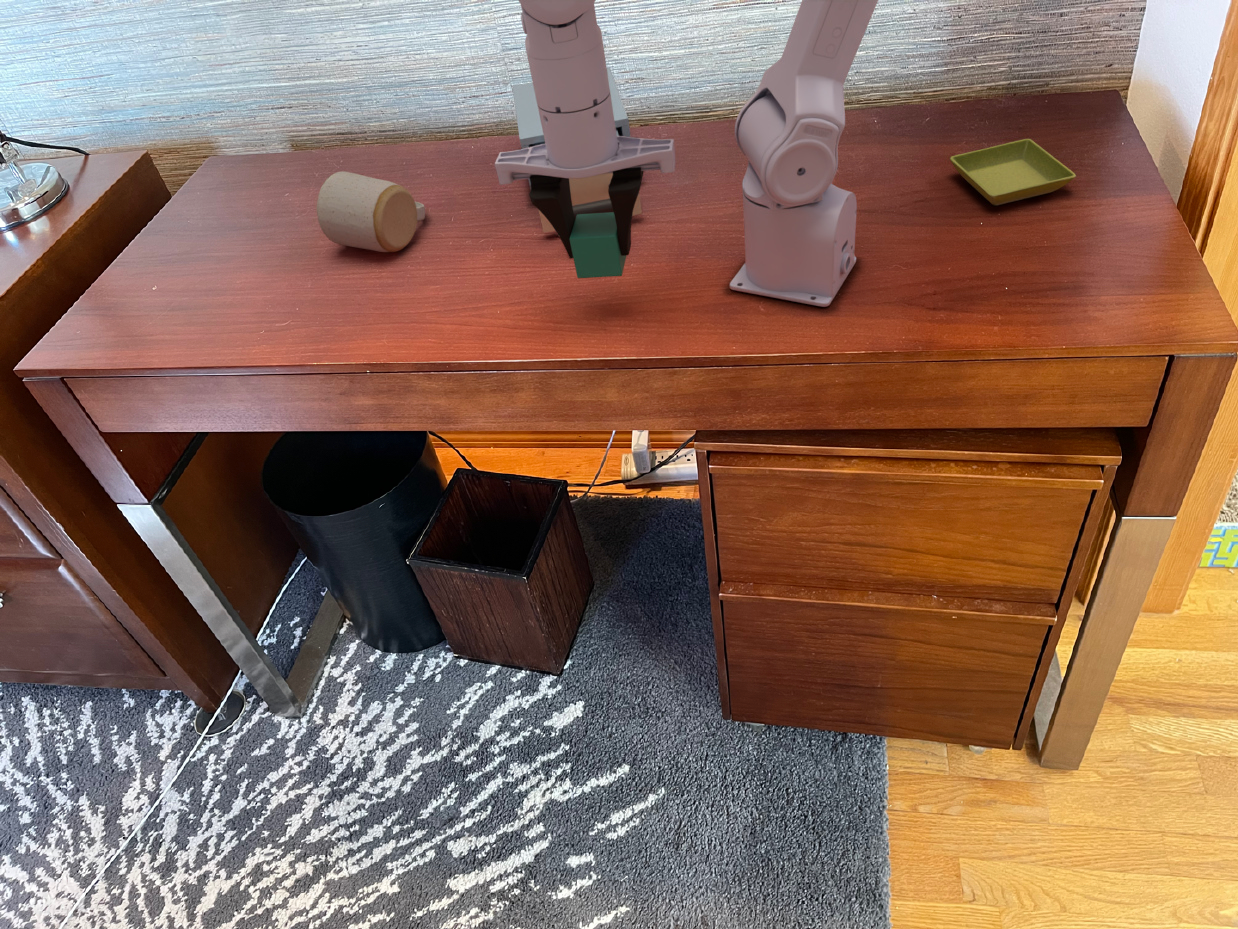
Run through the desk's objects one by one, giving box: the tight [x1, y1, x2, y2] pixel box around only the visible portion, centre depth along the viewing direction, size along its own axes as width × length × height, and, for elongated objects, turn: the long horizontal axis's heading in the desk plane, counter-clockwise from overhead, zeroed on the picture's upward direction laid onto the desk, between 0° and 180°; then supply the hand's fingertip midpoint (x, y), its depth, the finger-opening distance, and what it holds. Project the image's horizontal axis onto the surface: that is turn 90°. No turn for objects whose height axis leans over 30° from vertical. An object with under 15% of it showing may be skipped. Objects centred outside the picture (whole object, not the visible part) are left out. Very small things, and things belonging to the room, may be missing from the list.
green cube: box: [570, 212, 627, 279], centre depth 78 cm, size 4×4×4 cm
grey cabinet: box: [511, 67, 632, 190], centre depth 102 cm, size 15×12×8 cm
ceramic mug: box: [316, 170, 426, 253], centre depth 96 cm, size 11×8×8 cm
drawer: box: [533, 128, 643, 234], centre depth 94 cm, size 18×10×6 cm, turn 8°
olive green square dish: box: [949, 138, 1077, 207], centre depth 88 cm, size 9×9×2 cm
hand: (600, 250), depth 78 cm, fingers closed on green cube, 4 cm apart
